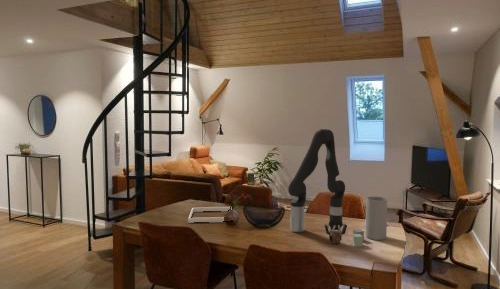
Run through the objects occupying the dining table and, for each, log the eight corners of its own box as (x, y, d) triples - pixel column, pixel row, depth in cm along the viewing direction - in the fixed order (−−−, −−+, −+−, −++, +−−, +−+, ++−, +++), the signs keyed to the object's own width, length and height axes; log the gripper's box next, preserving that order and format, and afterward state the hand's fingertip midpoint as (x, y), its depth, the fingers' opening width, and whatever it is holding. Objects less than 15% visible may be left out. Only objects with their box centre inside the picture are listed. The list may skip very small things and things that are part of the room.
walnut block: (332, 243, 213) (332, 233, 213) (330, 240, 218) (330, 231, 218) (340, 243, 214) (340, 233, 213) (337, 240, 218) (337, 231, 218)
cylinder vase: (361, 236, 228) (362, 198, 226) (372, 232, 236) (373, 195, 234) (379, 241, 218) (379, 201, 216) (390, 237, 226) (391, 198, 224)
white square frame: (188, 222, 260) (188, 218, 260) (192, 211, 292) (192, 207, 292) (232, 221, 262) (232, 217, 262) (231, 210, 294) (231, 206, 294)
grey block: (357, 241, 219) (357, 232, 219) (353, 239, 223) (353, 229, 223) (363, 240, 220) (363, 231, 220) (359, 238, 225) (359, 229, 224)
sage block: (355, 246, 210) (355, 236, 210) (352, 244, 215) (352, 234, 214) (362, 246, 211) (362, 236, 210) (359, 243, 215) (359, 234, 215)
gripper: (326, 215, 210) (325, 243, 212) (349, 214, 211) (348, 242, 213) (322, 211, 218) (322, 239, 219) (345, 211, 219) (344, 238, 220)
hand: (335, 240), depth 216 cm, fingers closed on walnut block, 4 cm apart
